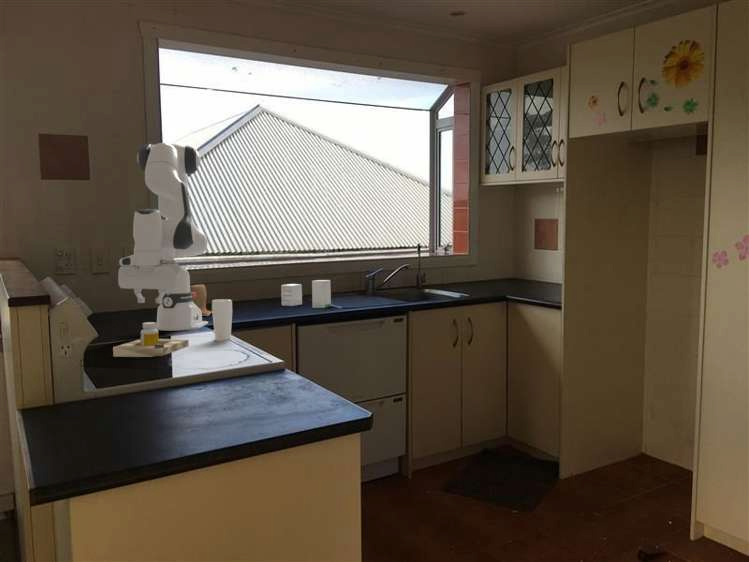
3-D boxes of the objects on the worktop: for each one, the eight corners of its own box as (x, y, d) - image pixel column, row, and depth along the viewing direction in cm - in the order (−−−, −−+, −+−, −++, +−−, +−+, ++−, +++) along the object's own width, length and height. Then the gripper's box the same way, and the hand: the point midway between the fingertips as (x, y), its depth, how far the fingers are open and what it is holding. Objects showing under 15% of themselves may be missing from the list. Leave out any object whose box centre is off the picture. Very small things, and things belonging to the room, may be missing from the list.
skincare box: (324, 314, 297) (323, 281, 296) (311, 313, 299) (310, 280, 298) (331, 312, 305) (331, 279, 304) (319, 311, 307) (318, 279, 306)
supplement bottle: (137, 353, 204) (136, 323, 203) (151, 350, 209) (150, 321, 208) (148, 354, 201) (147, 324, 201) (162, 352, 206) (161, 322, 205)
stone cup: (187, 315, 296) (187, 283, 295) (214, 315, 297) (213, 283, 296) (181, 320, 281) (180, 286, 280) (208, 319, 282) (208, 285, 281)
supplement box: (291, 308, 320) (291, 283, 319) (302, 309, 316) (302, 284, 315) (281, 310, 314) (280, 284, 313) (292, 311, 310) (291, 285, 309)
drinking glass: (211, 342, 223) (210, 299, 222) (231, 341, 226) (229, 298, 225) (214, 345, 217) (213, 301, 216) (234, 344, 220) (233, 300, 218)
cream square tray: (143, 347, 215) (142, 335, 214) (188, 348, 211) (188, 336, 211) (113, 356, 199) (112, 343, 198) (161, 358, 195) (161, 345, 195)
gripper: (183, 259, 204) (185, 302, 205) (126, 258, 208) (127, 301, 209) (173, 260, 197) (174, 305, 199) (114, 259, 202) (116, 303, 203)
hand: (150, 303), depth 204 cm, fingers open, 5 cm apart
